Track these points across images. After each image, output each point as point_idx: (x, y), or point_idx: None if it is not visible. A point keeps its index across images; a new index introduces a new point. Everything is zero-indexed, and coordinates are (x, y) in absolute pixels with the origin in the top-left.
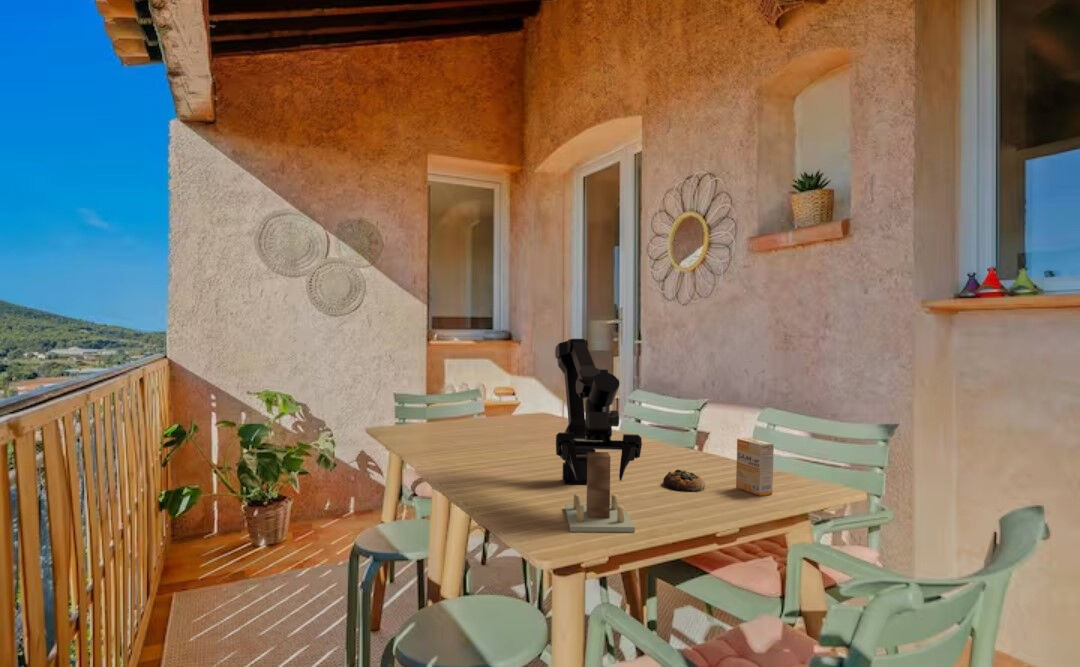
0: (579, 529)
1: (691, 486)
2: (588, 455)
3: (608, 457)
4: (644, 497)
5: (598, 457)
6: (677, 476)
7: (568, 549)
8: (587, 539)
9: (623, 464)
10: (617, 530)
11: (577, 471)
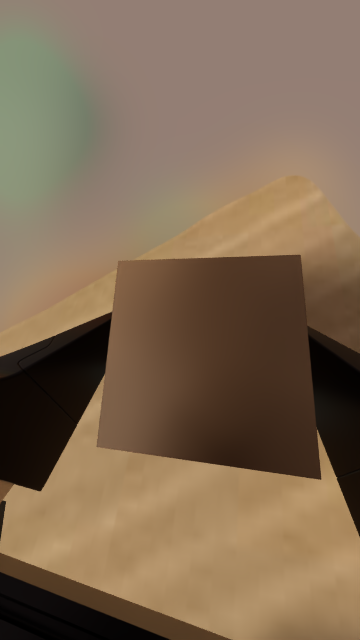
0: None
1: None
2: (302, 316)
3: (135, 265)
4: (72, 505)
5: (212, 263)
6: None
7: (260, 211)
8: (228, 250)
9: (69, 332)
10: None
11: (309, 332)
